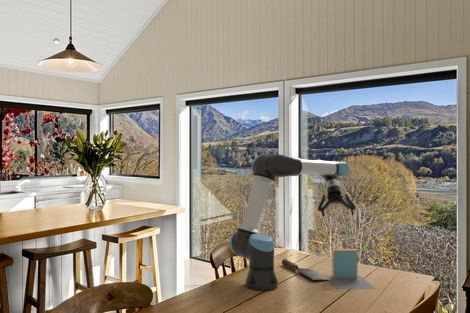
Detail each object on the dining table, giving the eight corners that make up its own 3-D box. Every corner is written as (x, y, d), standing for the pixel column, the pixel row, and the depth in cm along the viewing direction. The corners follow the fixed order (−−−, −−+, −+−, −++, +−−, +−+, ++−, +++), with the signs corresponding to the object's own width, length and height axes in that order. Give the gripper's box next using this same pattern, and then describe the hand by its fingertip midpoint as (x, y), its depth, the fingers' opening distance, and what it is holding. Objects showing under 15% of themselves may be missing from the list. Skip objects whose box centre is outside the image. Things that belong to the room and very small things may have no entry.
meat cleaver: (332, 280, 191) (332, 271, 191) (312, 283, 188) (312, 275, 188) (298, 263, 223) (298, 256, 223) (280, 266, 219) (280, 258, 219)
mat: (337, 290, 179) (337, 289, 179) (325, 276, 199) (325, 275, 199) (375, 289, 179) (375, 288, 179) (360, 276, 199) (360, 275, 199)
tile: (333, 278, 194) (334, 250, 194) (331, 276, 197) (332, 248, 197) (357, 278, 194) (357, 250, 194) (355, 276, 198) (355, 248, 198)
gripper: (355, 191, 225) (361, 223, 211) (311, 193, 228) (314, 225, 214) (356, 184, 220) (363, 216, 206) (311, 186, 223) (315, 217, 209)
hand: (338, 220), depth 210 cm, fingers open, 13 cm apart
